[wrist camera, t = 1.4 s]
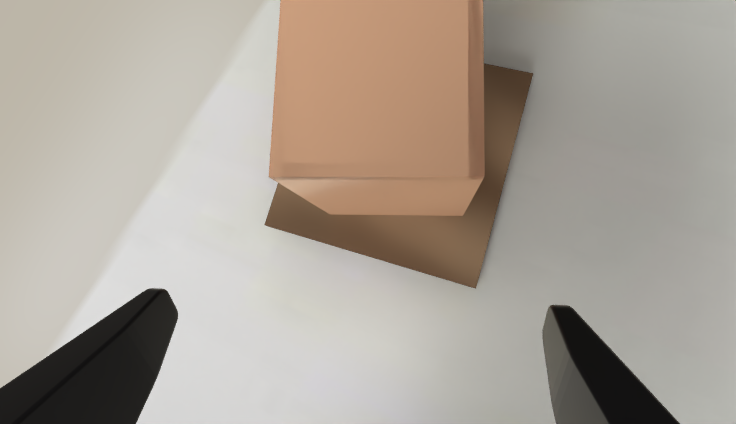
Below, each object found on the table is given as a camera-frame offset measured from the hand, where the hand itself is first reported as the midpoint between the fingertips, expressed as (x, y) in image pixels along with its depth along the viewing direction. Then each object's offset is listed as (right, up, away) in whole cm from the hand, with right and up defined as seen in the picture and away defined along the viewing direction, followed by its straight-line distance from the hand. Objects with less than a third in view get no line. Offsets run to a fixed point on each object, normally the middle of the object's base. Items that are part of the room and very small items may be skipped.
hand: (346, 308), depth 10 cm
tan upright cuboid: (+2, +6, +13) cm, 15 cm away
